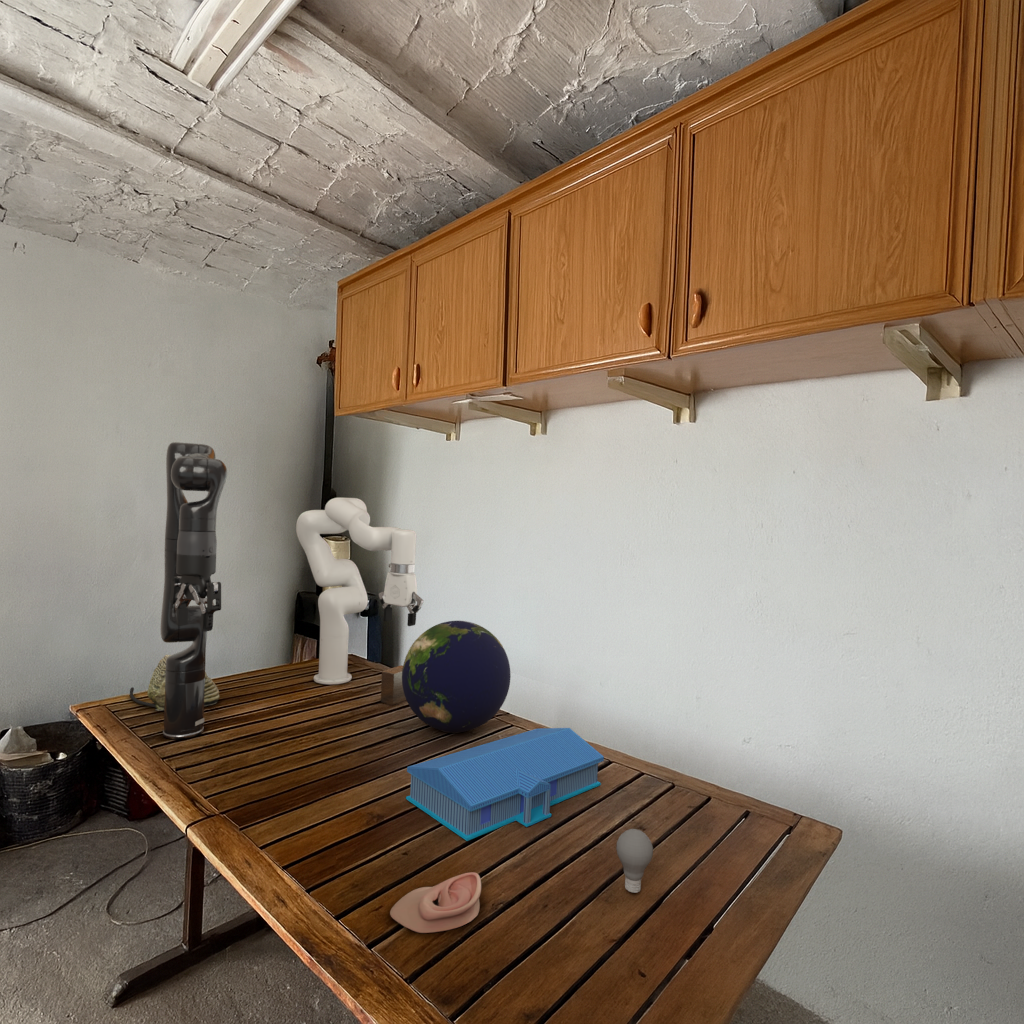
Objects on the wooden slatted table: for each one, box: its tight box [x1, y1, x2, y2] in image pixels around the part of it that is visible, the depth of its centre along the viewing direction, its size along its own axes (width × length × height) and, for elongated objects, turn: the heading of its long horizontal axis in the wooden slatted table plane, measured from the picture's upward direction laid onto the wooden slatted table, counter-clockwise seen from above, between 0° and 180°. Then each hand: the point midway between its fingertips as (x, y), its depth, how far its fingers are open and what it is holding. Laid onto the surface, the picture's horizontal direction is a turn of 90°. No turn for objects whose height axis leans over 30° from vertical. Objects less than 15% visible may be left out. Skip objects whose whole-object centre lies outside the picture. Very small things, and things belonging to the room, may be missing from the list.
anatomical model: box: [389, 871, 482, 934], centre depth 98 cm, size 13×4×12 cm
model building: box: [405, 727, 605, 842], centre depth 138 cm, size 39×24×10 cm, turn 132°
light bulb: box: [615, 828, 654, 894], centre depth 106 cm, size 6×6×10 cm
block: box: [380, 665, 407, 706], centre depth 199 cm, size 5×9×10 cm, turn 150°
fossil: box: [147, 654, 221, 712], centre depth 185 cm, size 9×18×15 cm, turn 132°
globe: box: [402, 620, 512, 734], centre depth 175 cm, size 30×30×30 cm
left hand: (194, 628), depth 135 cm, fingers open, 8 cm apart
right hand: (399, 623), depth 199 cm, fingers open, 9 cm apart
